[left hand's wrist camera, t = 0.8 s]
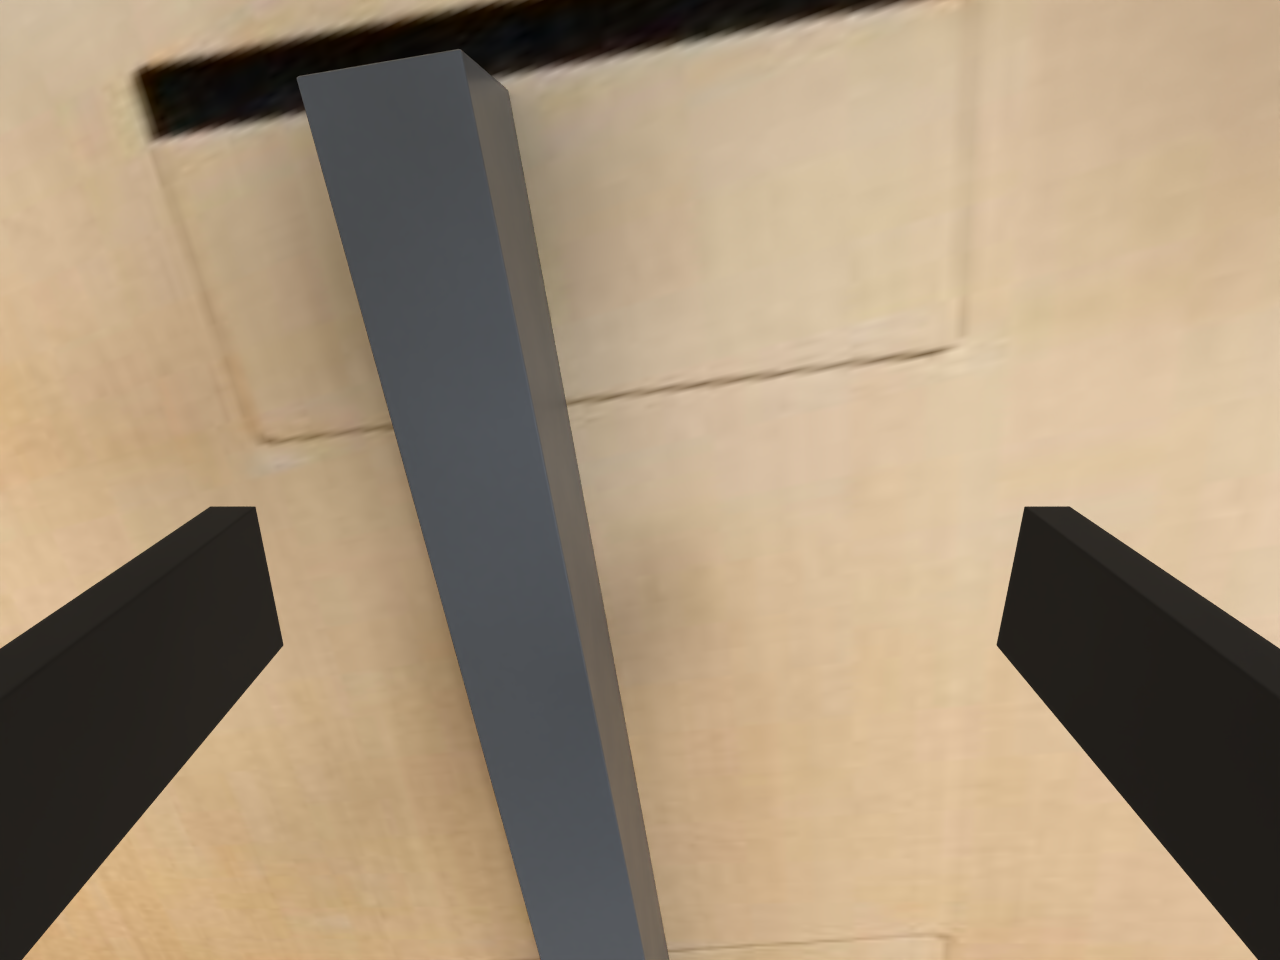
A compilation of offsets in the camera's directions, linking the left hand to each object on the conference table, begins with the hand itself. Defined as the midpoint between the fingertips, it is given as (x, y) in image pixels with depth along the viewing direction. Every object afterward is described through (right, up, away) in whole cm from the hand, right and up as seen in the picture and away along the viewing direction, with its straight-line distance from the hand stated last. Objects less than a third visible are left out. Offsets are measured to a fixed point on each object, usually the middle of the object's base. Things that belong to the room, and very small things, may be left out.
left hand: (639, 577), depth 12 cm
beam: (-4, -7, +25) cm, 26 cm away
